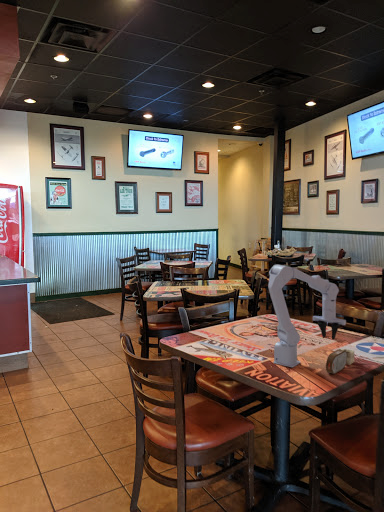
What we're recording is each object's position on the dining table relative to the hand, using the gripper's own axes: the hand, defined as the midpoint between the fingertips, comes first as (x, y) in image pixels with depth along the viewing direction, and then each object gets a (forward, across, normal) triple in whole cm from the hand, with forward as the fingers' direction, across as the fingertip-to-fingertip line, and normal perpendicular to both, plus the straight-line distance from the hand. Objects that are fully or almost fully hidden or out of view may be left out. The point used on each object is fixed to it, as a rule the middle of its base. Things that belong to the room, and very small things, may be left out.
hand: (328, 338), depth 177 cm
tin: (+10, -8, +13) cm, 18 cm away
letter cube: (+10, -8, 0) cm, 12 cm away
